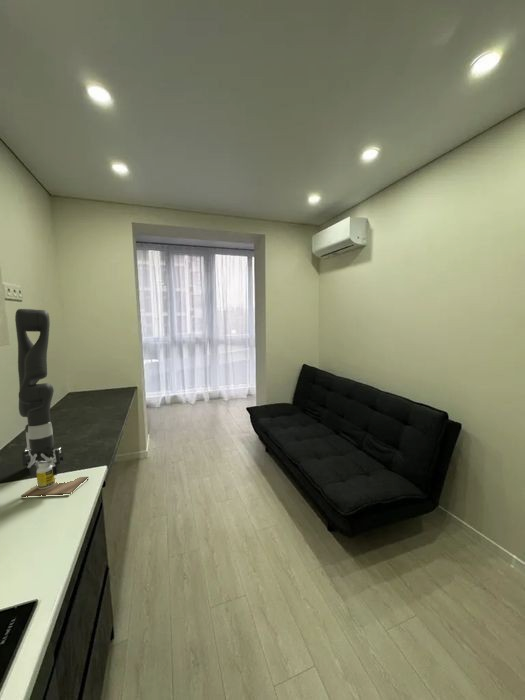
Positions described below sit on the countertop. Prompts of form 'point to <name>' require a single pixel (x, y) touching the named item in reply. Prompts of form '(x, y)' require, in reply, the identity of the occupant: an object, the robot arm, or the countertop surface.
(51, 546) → the countertop surface
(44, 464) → the supplement bottle
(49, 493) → the walnut board
